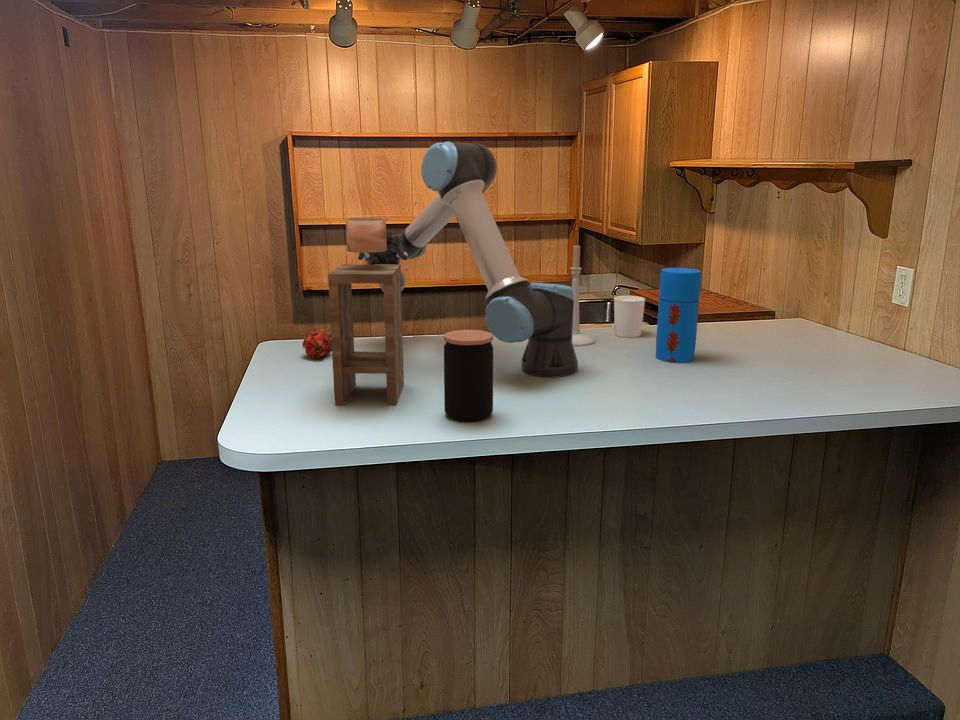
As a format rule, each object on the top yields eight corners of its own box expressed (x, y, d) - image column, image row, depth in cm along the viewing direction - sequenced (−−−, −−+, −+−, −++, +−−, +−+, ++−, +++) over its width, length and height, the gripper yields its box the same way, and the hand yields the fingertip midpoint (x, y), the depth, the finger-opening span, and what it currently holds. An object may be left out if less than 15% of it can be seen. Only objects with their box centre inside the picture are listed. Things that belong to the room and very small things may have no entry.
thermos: (652, 360, 203) (658, 271, 196) (658, 351, 212) (663, 266, 206) (692, 364, 199) (699, 274, 192) (696, 355, 208) (703, 269, 202)
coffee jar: (494, 407, 163) (495, 330, 159) (490, 424, 153) (491, 341, 148) (448, 406, 164) (447, 328, 160) (440, 422, 154) (439, 340, 149)
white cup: (624, 339, 227) (627, 302, 224) (605, 333, 235) (607, 297, 232) (649, 336, 231) (651, 299, 228) (629, 330, 240) (631, 294, 237)
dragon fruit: (321, 355, 213) (322, 372, 203) (296, 341, 210) (296, 357, 199) (337, 333, 212) (339, 348, 201) (312, 318, 208) (313, 333, 198)
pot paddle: (362, 240, 187) (361, 212, 185) (397, 240, 187) (396, 212, 185) (343, 252, 162) (342, 220, 160) (383, 252, 162) (382, 220, 160)
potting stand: (347, 384, 180) (342, 264, 173) (403, 384, 180) (400, 264, 172) (334, 405, 165) (327, 274, 157) (396, 405, 165) (392, 274, 157)
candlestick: (545, 342, 223) (547, 244, 215) (564, 334, 233) (568, 241, 226) (582, 348, 216) (586, 247, 208) (601, 340, 226) (605, 243, 219)
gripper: (415, 278, 198) (406, 242, 175) (356, 277, 198) (339, 242, 175) (416, 252, 200) (407, 214, 177) (357, 252, 200) (341, 214, 177)
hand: (373, 228), depth 176 cm, fingers closed on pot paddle, 3 cm apart
